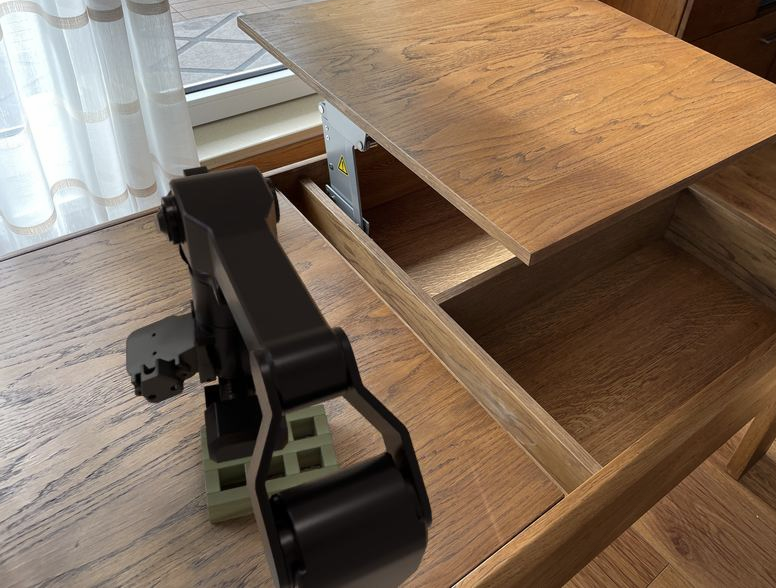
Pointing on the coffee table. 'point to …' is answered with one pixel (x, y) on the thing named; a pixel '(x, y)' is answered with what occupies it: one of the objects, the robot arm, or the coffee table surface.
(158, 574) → the coffee table surface
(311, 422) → the rack
